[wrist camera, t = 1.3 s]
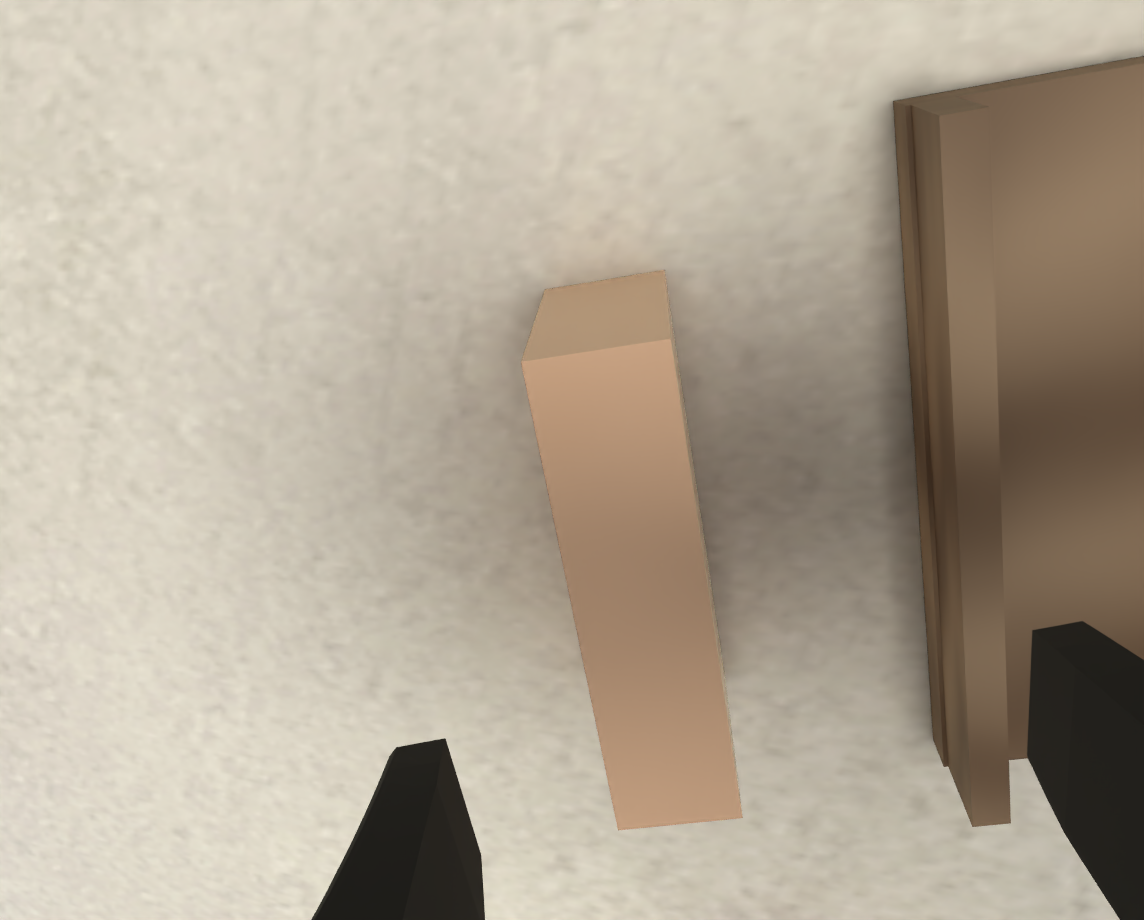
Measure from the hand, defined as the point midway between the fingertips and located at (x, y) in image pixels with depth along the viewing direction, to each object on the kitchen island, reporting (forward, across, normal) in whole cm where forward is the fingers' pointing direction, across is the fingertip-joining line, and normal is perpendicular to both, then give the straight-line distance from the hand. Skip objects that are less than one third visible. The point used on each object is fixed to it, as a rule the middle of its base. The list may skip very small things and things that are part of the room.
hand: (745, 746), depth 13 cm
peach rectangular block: (+11, 0, +3) cm, 11 cm away
